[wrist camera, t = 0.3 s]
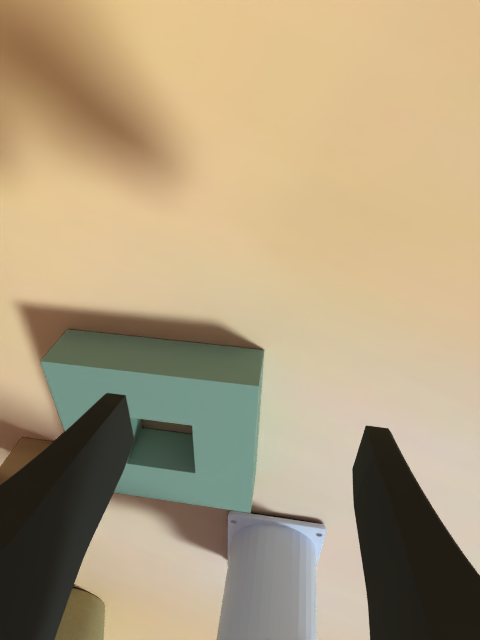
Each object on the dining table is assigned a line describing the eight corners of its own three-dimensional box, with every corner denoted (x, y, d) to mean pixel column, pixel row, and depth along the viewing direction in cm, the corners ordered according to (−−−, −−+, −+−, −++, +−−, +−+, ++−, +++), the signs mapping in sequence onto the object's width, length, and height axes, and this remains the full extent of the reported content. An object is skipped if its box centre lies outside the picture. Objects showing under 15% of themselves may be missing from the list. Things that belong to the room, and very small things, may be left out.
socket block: (255, 474, 30) (250, 513, 27) (102, 453, 31) (84, 488, 28) (264, 349, 23) (258, 386, 20) (67, 329, 24) (40, 361, 22)
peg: (69, 467, 33) (18, 555, 27) (33, 461, 33) (-25, 548, 27) (59, 442, 31) (3, 531, 25) (21, 437, 31) (-42, 524, 26)
